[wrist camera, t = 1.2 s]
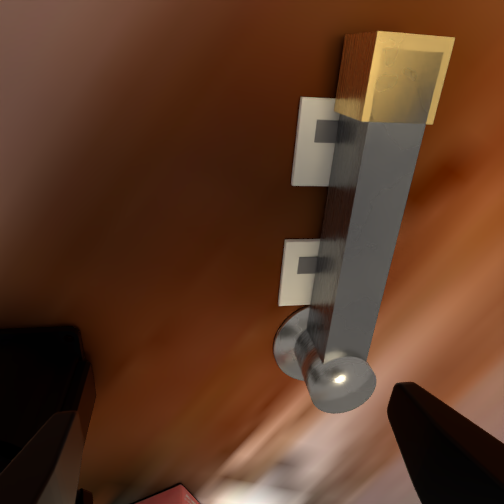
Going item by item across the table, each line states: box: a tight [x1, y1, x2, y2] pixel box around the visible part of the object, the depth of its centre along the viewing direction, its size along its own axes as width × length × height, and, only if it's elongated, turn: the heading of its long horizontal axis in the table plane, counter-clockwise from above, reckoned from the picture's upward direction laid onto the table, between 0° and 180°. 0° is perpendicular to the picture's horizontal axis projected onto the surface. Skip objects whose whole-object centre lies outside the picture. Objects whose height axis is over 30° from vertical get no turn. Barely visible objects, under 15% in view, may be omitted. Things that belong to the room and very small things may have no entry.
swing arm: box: [294, 31, 455, 413], centre depth 19 cm, size 18×4×4 cm, turn 176°
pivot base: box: [273, 305, 310, 381], centre depth 24 cm, size 6×6×1 cm
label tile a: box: [278, 239, 320, 306], centre depth 22 cm, size 6×4×1 cm, turn 86°
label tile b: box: [291, 97, 340, 186], centre depth 18 cm, size 6×4×1 cm, turn 86°
